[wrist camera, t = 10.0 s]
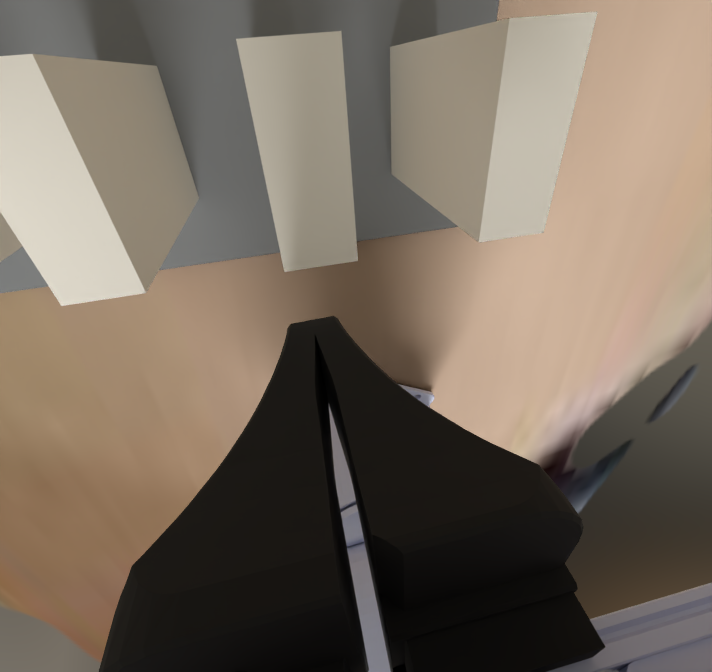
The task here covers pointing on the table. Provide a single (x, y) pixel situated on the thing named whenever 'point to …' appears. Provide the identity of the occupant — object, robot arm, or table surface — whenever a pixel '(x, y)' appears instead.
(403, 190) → the domino mat
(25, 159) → the domino
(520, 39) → the domino
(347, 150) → the domino
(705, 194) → the table surface
